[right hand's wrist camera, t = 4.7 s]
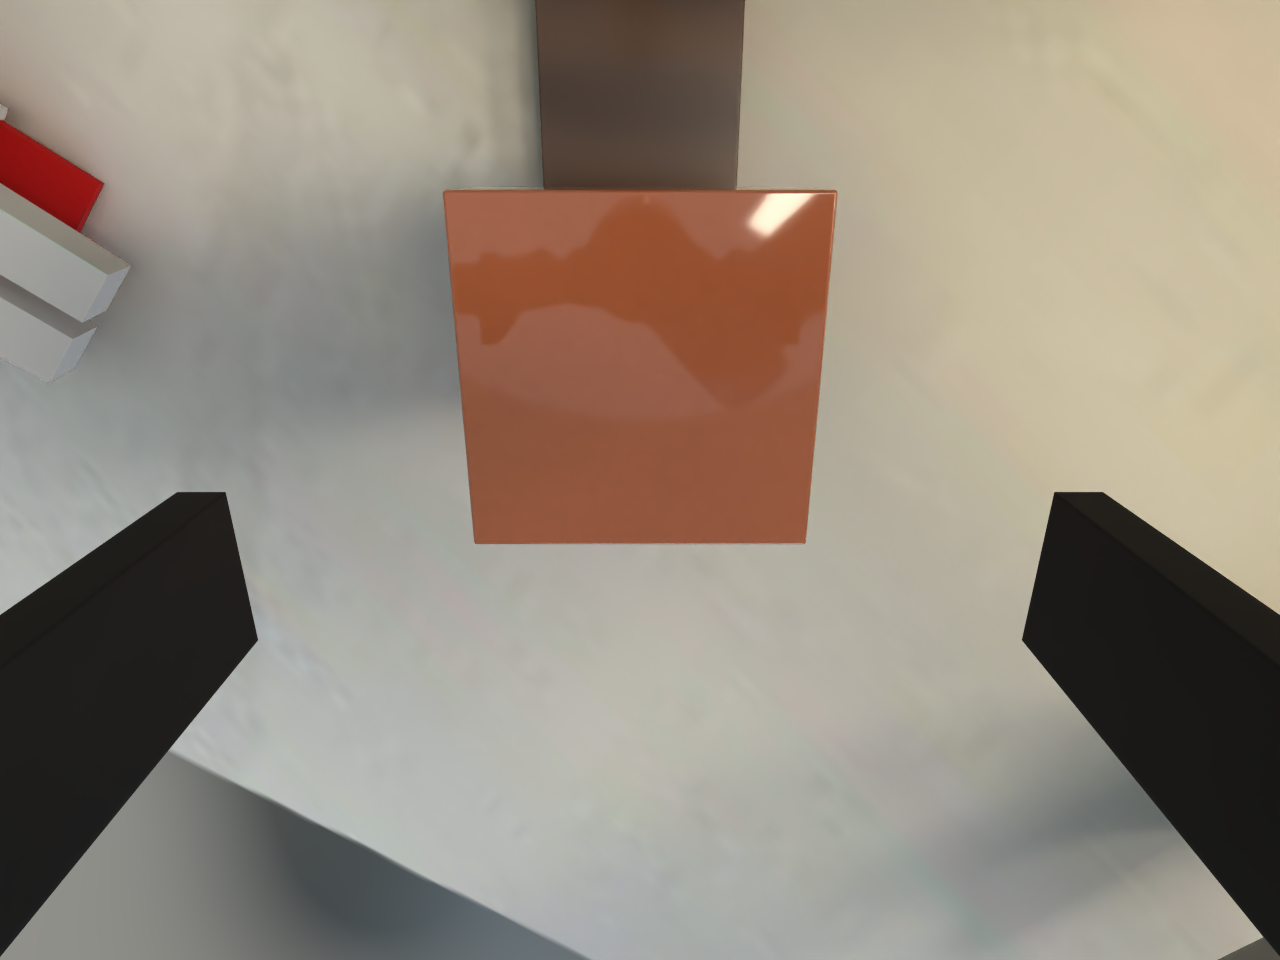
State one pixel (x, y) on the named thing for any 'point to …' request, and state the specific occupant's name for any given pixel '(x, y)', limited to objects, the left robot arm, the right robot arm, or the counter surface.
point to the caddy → (640, 92)
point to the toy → (48, 258)
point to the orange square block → (640, 360)
